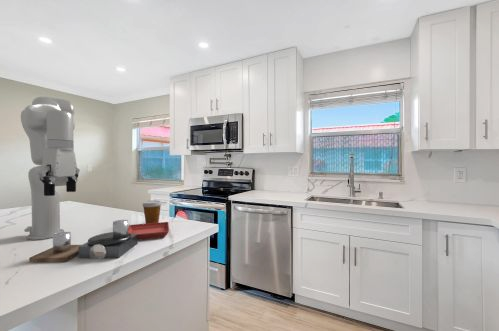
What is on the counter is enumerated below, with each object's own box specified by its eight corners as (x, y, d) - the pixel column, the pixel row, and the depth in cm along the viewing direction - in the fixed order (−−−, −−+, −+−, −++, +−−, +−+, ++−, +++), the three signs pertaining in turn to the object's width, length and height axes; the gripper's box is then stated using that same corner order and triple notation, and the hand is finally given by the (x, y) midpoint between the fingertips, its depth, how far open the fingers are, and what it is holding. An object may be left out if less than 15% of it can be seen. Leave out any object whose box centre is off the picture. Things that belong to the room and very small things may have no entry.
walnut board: (29, 262, 77) (29, 257, 77) (58, 248, 89) (58, 244, 89) (65, 262, 78) (65, 257, 78) (89, 248, 90) (89, 244, 90)
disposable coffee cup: (157, 226, 120) (157, 203, 120) (139, 226, 120) (138, 203, 120) (164, 221, 129) (164, 200, 129) (147, 221, 130) (147, 200, 129)
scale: (76, 261, 80) (76, 244, 80) (103, 245, 95) (102, 231, 95) (117, 261, 80) (117, 244, 80) (137, 245, 95) (137, 231, 95)
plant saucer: (129, 231, 113) (129, 224, 113) (168, 227, 120) (168, 221, 119) (123, 243, 96) (123, 235, 96) (169, 238, 103) (169, 231, 103)
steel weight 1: (49, 253, 81) (49, 236, 81) (60, 248, 86) (60, 231, 86) (63, 253, 81) (63, 235, 81) (74, 247, 86) (74, 231, 86)
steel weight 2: (110, 239, 85) (109, 223, 85) (117, 235, 90) (117, 219, 90) (123, 239, 85) (123, 223, 85) (130, 235, 90) (130, 219, 90)
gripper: (68, 147, 91) (68, 190, 92) (26, 144, 74) (27, 197, 75) (87, 147, 92) (87, 190, 92) (50, 144, 74) (51, 197, 75)
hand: (61, 193), depth 83 cm, fingers open, 9 cm apart
